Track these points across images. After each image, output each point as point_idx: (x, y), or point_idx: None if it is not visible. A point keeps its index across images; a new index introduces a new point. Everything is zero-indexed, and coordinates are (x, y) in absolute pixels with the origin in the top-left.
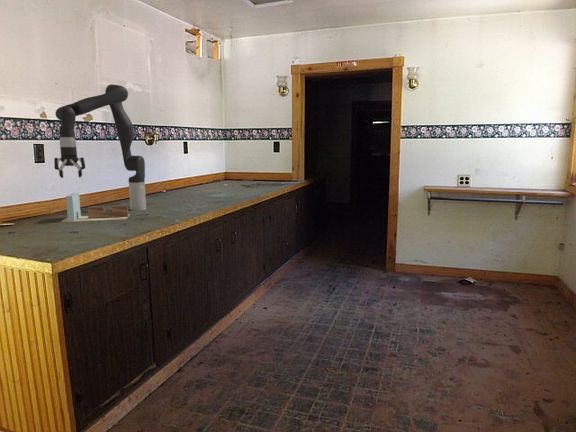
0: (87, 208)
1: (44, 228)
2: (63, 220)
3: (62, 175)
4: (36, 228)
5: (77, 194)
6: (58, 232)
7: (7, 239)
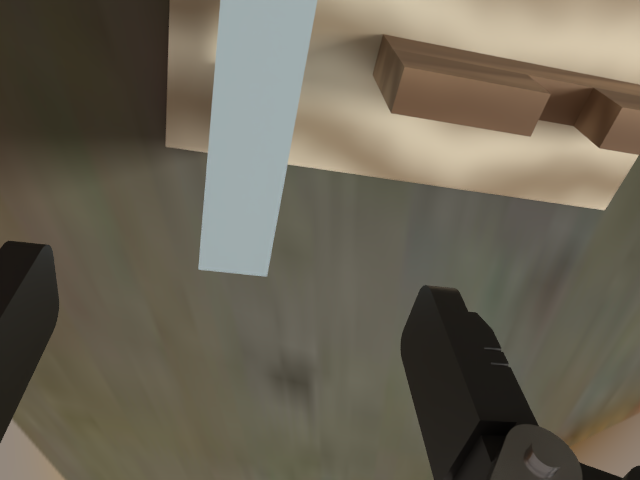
0: (389, 109)
1: (102, 248)
2: (175, 86)
3: (37, 336)
4: (46, 232)
5: (312, 18)
6: (216, 363)
7: (26, 421)
